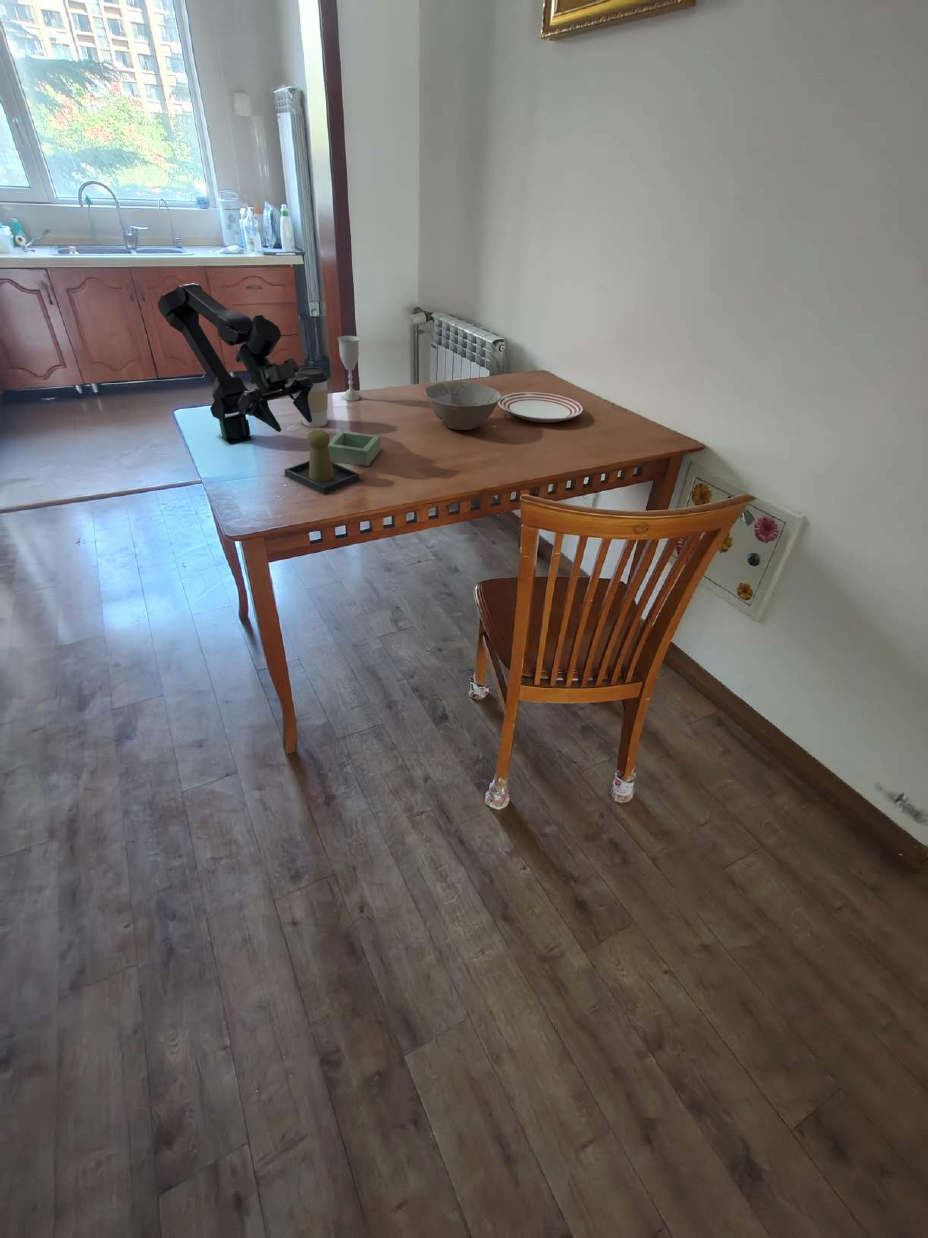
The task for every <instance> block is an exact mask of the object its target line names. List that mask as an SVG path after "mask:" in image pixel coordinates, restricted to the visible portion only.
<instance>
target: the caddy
mask: <svg viewBox="0 0 928 1238" xmlns="http://www.w3.org/2000/svg"><path fill="white" fill-rule="evenodd" d="M328 449H329V453H330V458H331V462H334V463H335V462H337V463H341V464H342V463H344V464H350V465H358V466H362V467H363V466H364V467H368V466H369V465H370V464H371V463H372V461H373V460H374V459H375V458H376V456H377V455H378V454H379V453H380V452H381V435H377V434H369V433H362V432H355V431H348V430H341V429H340V430H339V431H338V432H337V433H336V434H335V435H334V436H333V437H332V438H330V442H329V445H328Z"/></svg>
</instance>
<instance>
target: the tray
mask: <svg viewBox="0 0 928 1238" xmlns="http://www.w3.org/2000/svg"><path fill="white" fill-rule="evenodd" d="M331 463H332V468H333V472H334V477H333V478H332V479H331V480H328V481H315V480H312V479H310V478H309V465H310V459H309V460H306V461H304V462H301V463H298V464H295V465H293V466H290V467H287V468H284V476H285V477H287V478H289V479H291V480H293V481H295V482H296V483H297V482H298V483H299V484H301V485H303V486H306V487H308V488H310V489H312V490H314V491H316V492H318V493H321V494H322V495H327V494H329V493H332V492H334V491H336V490H339V489H341V488H344V487H346V486H349V485H351V484H354V483H356V482H358V481H360V473H358V472H356V471H353V470H352V469H349V468H347V467H345V466H342V465H340V464H337V463H335V462H334V461H331Z"/></svg>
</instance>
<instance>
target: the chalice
mask: <svg viewBox="0 0 928 1238" xmlns="http://www.w3.org/2000/svg"><path fill="white" fill-rule="evenodd" d="M337 341H338V345H339V347H338V349H339V357H340V360H341V362H342V364H343V366H344V369H345V370H347V371H348V375H347V378H348V381H347V384H348V386H349V388H348V389H347V390H346V391H345V393H344V396H343V399H344V400H345V401H350V402H351V401H352V402H353V401H358V400H360V397H359V393H358V392H357V390H355V389H354V388H353V384H354V381H353V378H354V375H353V373H352V372H353V371H354V370H355V368H356V365H357V363H358V360H359V356H360V351H359V349H360V348H359V342H360V337H358V336H355V335H341V336H337Z"/></svg>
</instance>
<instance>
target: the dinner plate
mask: <svg viewBox="0 0 928 1238" xmlns="http://www.w3.org/2000/svg"><path fill="white" fill-rule="evenodd" d="M497 405H498V406H499V407H500V408H501V409H502V410H504V411H505V412H507V413H508V414H510V415H513V416H514V417H517V418H519V419H521V420H524V421H528V422H533V423H541V424H542V423H543V424H548V423H549V424H551V423H559V422H563V421H568V420H571V419H573V418H575V417H577V416H579V415H580V414H582V413H583V411H584V408H583V406H582V405H581V403H580V402H578V401H576V400H574V399H571V398H569V397H567V396H563V395H558V394H555V393H547V392H535V391H534V392H532V391H527V392H525V391H523V392H515V393H509V394H506V395H503V396H502V397H501V399H500V401H499V402H498V404H497Z"/></svg>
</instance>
